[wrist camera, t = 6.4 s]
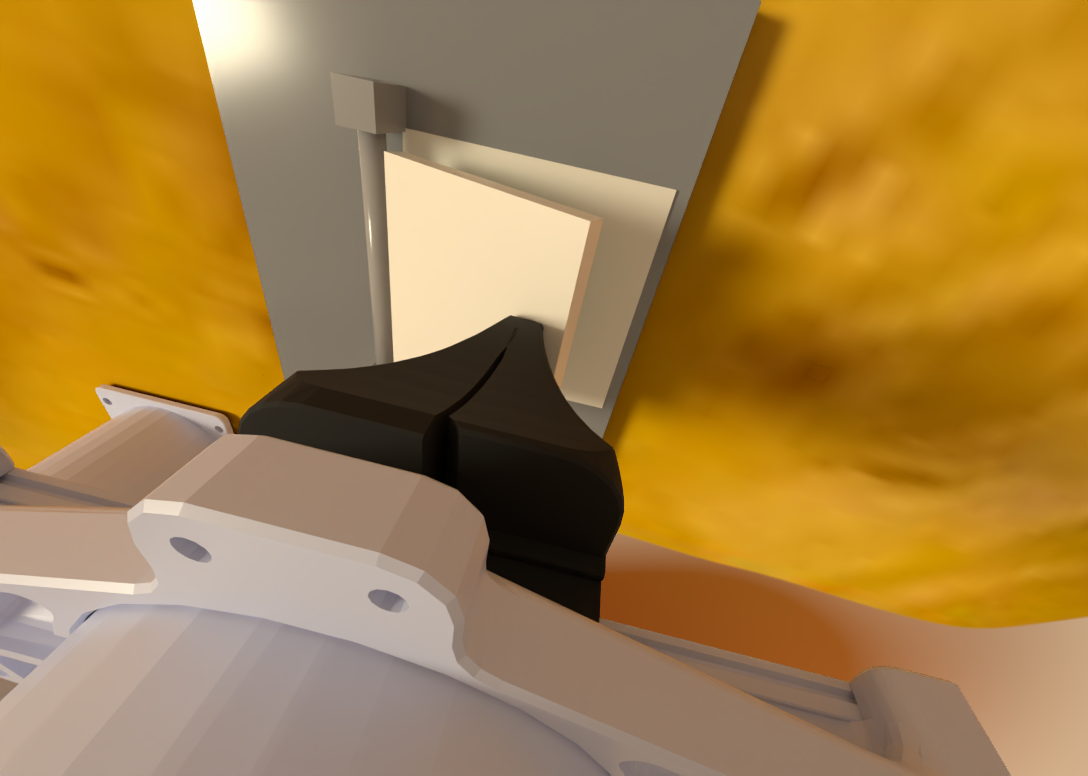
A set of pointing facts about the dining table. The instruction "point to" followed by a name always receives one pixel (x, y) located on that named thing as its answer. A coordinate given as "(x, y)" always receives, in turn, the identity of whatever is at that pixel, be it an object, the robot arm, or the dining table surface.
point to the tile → (480, 259)
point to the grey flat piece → (465, 146)
